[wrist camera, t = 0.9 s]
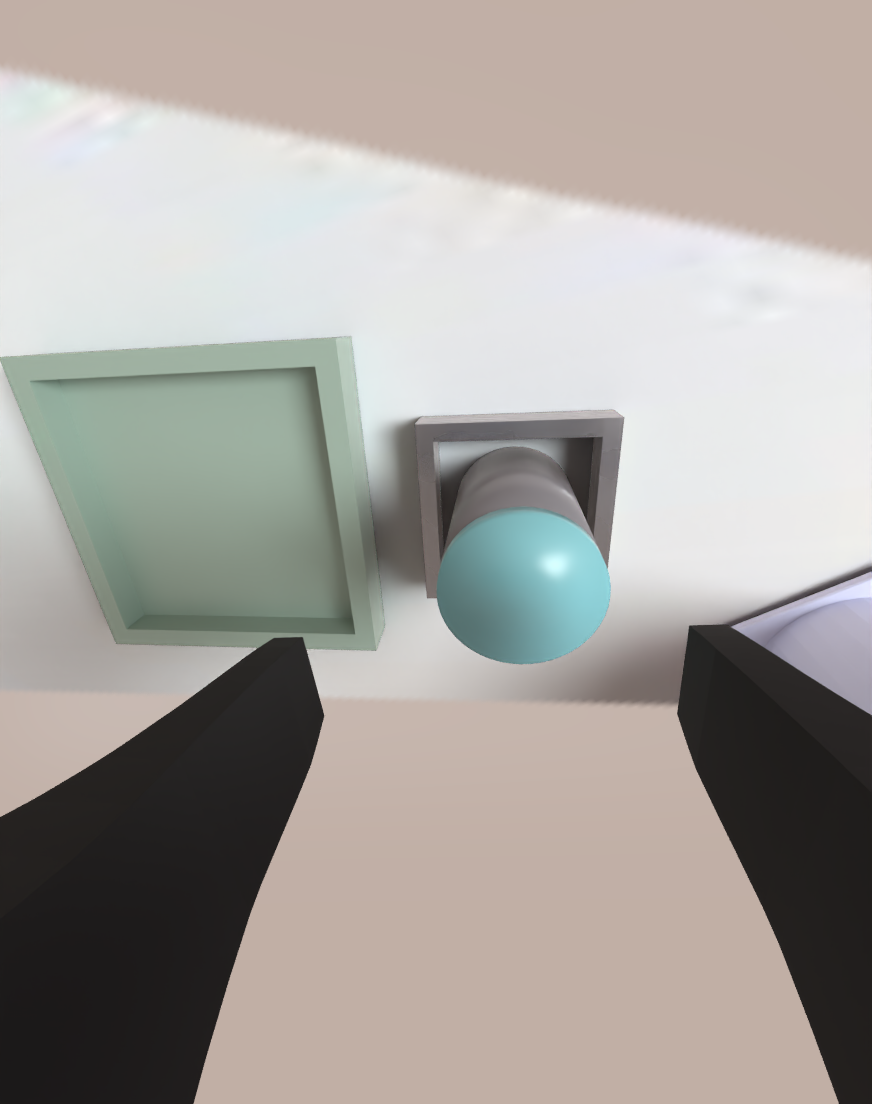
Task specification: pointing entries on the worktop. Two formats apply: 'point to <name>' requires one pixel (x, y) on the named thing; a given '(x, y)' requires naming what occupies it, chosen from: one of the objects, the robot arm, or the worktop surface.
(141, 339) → the worktop surface
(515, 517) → the cylinder
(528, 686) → the worktop surface
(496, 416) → the collar
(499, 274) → the worktop surface
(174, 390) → the tray
